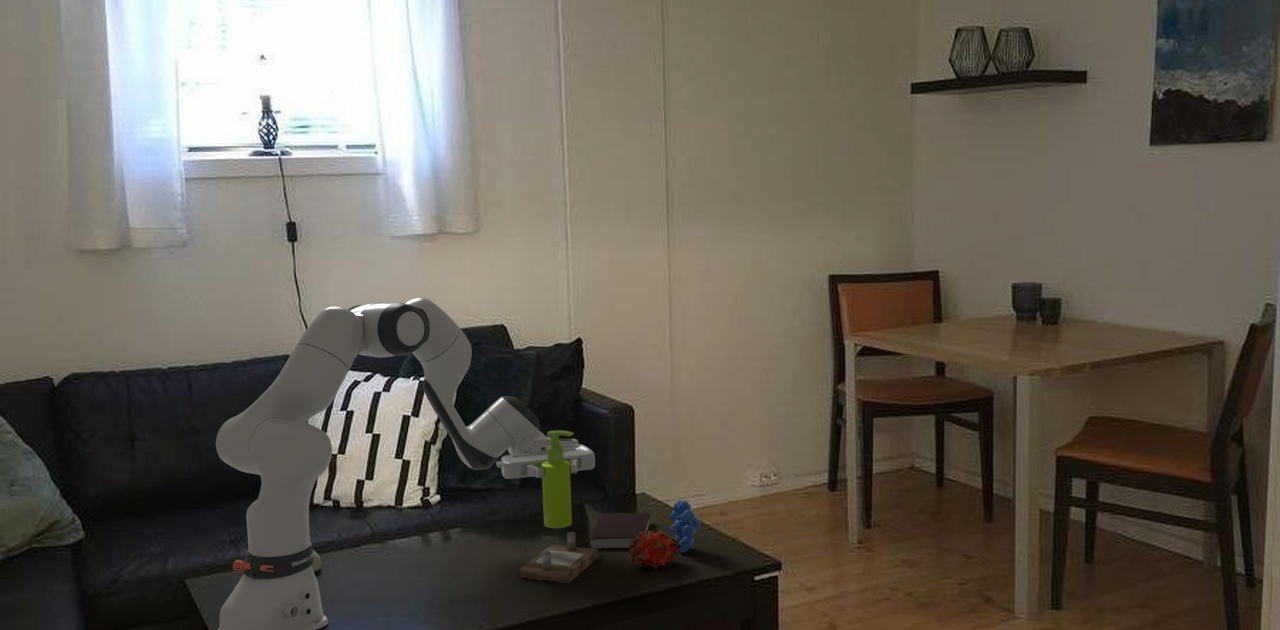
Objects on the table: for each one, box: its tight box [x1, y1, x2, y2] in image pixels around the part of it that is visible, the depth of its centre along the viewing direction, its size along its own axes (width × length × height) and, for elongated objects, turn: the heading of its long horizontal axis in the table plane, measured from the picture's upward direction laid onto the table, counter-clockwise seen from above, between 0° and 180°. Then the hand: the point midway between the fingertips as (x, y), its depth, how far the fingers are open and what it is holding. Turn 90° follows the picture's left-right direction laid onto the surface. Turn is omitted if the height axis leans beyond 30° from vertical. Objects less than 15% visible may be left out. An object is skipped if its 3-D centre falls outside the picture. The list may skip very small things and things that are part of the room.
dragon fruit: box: [627, 529, 680, 570], centre depth 238 cm, size 8×8×12 cm
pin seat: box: [519, 531, 599, 584], centre depth 238 cm, size 16×11×6 cm
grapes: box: [669, 500, 702, 554], centre depth 246 cm, size 12×7×12 cm, turn 17°
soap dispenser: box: [541, 430, 575, 529], centre depth 236 cm, size 6×7×20 cm
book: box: [588, 512, 651, 549], centre depth 259 cm, size 13×19×3 cm, turn 174°
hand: (557, 471), depth 235 cm, fingers closed on soap dispenser, 6 cm apart
